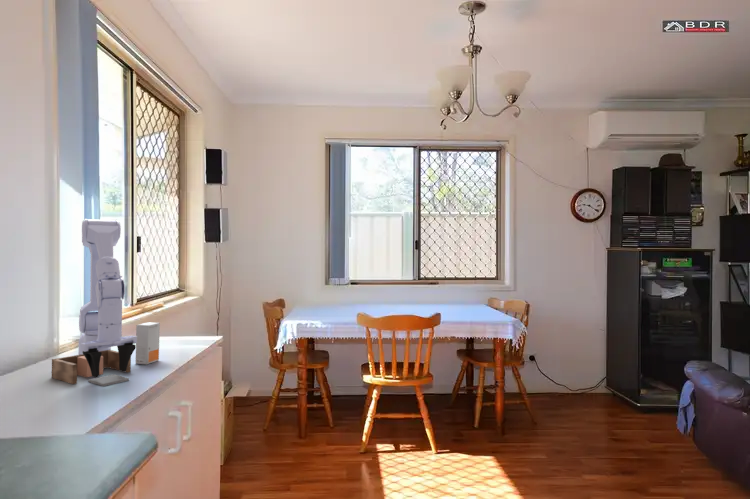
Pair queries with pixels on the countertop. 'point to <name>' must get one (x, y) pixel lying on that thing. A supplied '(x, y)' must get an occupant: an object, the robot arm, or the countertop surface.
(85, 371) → the block
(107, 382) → the mat
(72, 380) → the open box
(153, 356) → the skincare box
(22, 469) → the countertop surface
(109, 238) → the robot arm
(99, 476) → the countertop surface
